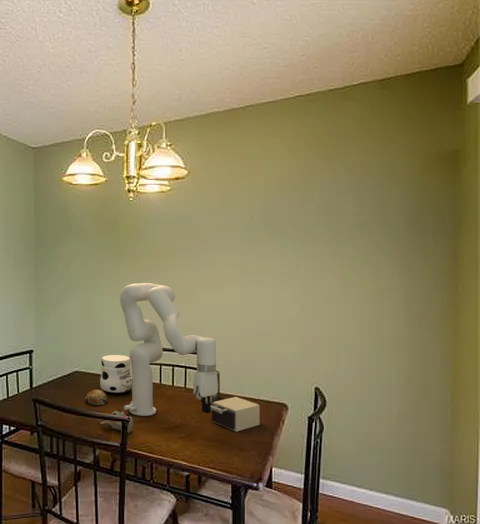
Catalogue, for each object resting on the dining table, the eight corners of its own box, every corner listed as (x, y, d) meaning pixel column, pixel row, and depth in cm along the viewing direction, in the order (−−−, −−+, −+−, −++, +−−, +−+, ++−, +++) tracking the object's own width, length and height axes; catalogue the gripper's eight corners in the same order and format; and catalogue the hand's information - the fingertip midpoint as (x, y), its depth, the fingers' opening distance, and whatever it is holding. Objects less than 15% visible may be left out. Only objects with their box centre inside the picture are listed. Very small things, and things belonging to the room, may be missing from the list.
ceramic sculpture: (122, 416, 169) (96, 408, 180) (123, 438, 169) (97, 429, 180) (140, 410, 176) (113, 403, 188) (141, 431, 176) (114, 423, 187)
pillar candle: (223, 397, 219) (223, 368, 219) (214, 402, 212) (214, 372, 212) (205, 393, 226) (205, 365, 225) (196, 398, 218) (196, 369, 218)
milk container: (133, 396, 222) (133, 361, 222) (100, 396, 222) (100, 361, 222) (130, 386, 239) (130, 354, 239) (99, 386, 240) (99, 354, 240)
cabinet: (236, 431, 176) (236, 410, 176) (212, 421, 187) (212, 402, 186) (259, 424, 183) (259, 404, 183) (235, 415, 194) (235, 396, 194)
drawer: (225, 431, 173) (225, 411, 173) (204, 422, 183) (204, 403, 183) (254, 423, 182) (254, 404, 182) (233, 414, 192) (233, 396, 192)
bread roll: (96, 413, 207) (102, 400, 205) (80, 401, 212) (86, 387, 210) (106, 407, 215) (112, 394, 213) (90, 395, 220) (96, 383, 218)
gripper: (211, 363, 183) (211, 406, 183) (186, 368, 175) (186, 412, 175) (226, 367, 176) (226, 411, 177) (200, 372, 169) (200, 418, 169)
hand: (206, 412), depth 176 cm, fingers closed
